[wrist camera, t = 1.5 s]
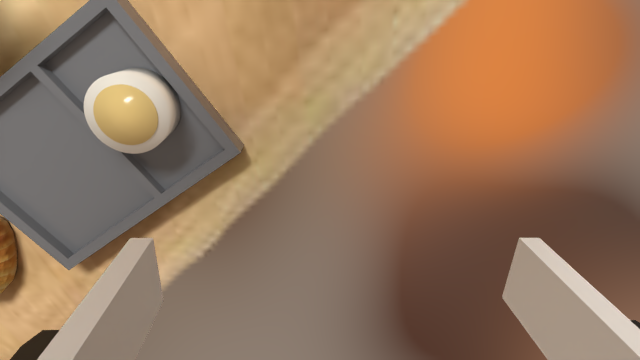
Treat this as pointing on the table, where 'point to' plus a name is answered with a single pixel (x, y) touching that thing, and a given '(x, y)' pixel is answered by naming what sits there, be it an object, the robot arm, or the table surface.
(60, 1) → the table surface
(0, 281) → the pastry
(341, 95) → the table surface
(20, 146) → the serving board
